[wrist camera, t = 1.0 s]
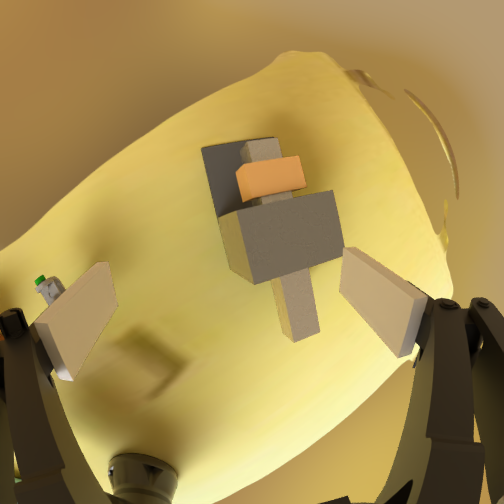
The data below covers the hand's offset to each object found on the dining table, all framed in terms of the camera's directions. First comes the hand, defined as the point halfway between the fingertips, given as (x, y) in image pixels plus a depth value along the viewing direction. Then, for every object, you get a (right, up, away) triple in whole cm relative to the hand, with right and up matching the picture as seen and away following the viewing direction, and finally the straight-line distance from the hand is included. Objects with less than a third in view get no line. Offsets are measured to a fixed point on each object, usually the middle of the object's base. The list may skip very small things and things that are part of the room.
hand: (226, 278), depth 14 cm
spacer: (+3, +11, +20) cm, 23 cm away
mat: (+1, +13, +27) cm, 30 cm away
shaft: (+5, +3, +22) cm, 23 cm away
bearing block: (+3, +4, +28) cm, 28 cm away
